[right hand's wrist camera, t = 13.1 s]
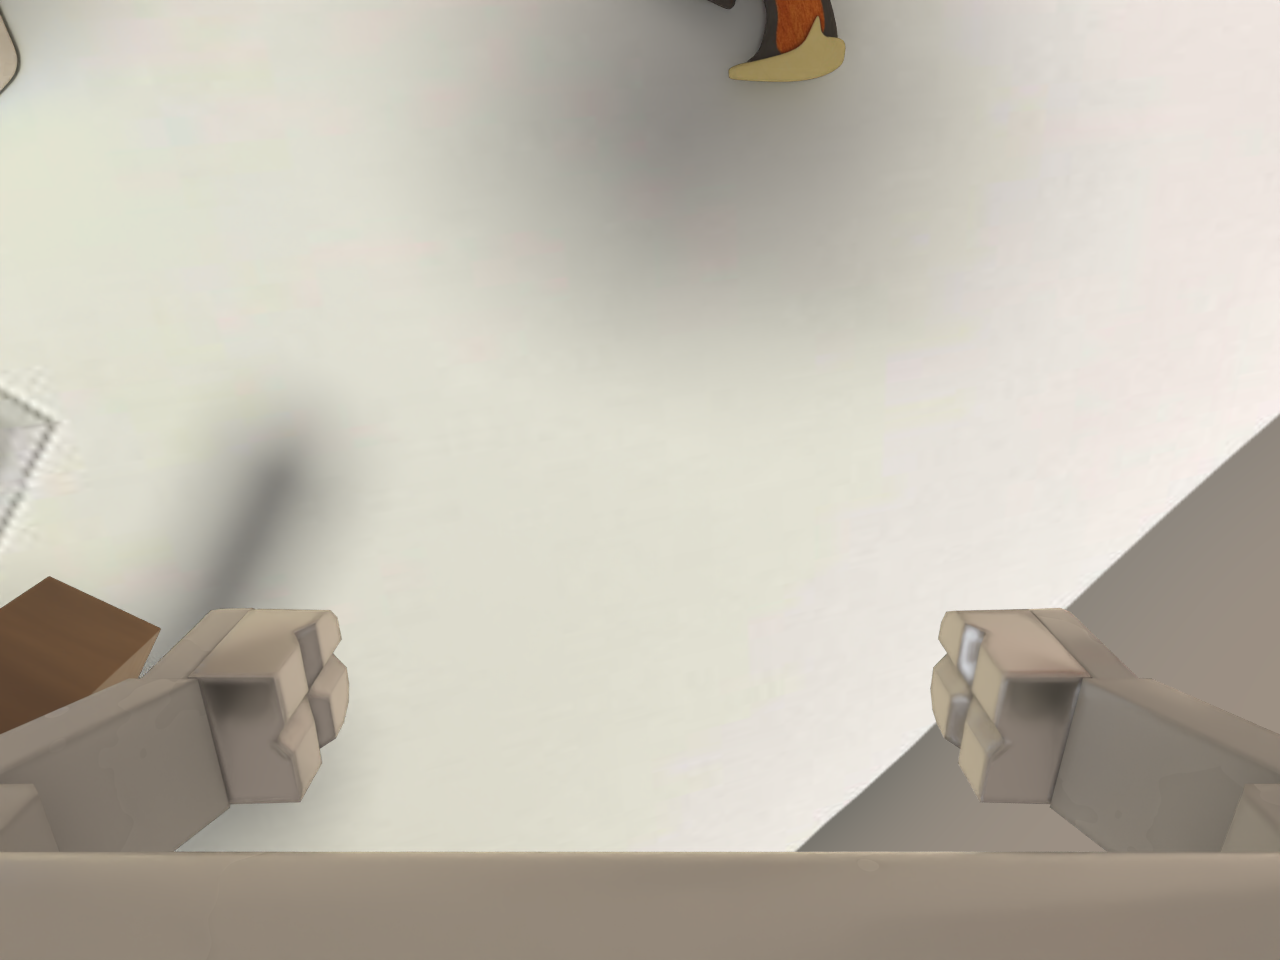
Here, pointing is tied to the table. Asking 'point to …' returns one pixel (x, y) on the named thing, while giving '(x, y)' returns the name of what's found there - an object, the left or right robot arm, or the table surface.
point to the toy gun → (793, 42)
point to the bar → (64, 650)
